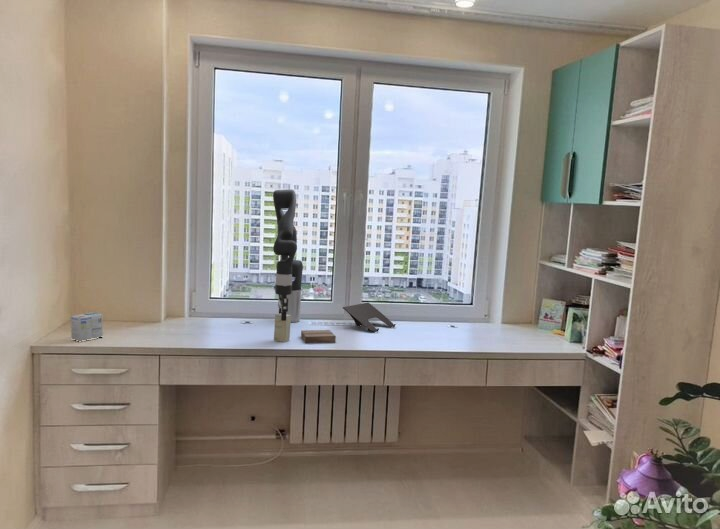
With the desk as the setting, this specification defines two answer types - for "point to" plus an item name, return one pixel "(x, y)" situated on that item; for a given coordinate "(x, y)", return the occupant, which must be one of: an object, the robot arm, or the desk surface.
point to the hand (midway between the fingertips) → (282, 318)
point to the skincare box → (282, 328)
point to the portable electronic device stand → (366, 315)
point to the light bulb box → (86, 326)
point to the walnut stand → (318, 336)
